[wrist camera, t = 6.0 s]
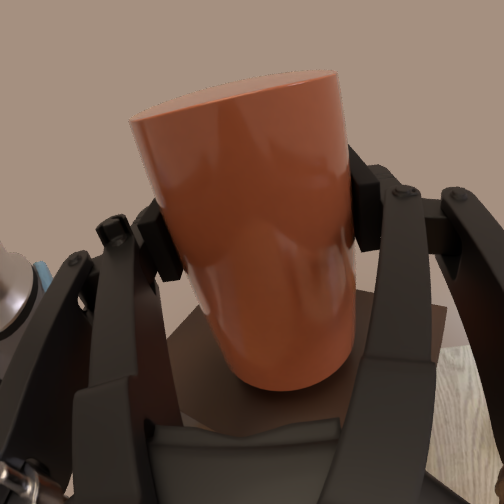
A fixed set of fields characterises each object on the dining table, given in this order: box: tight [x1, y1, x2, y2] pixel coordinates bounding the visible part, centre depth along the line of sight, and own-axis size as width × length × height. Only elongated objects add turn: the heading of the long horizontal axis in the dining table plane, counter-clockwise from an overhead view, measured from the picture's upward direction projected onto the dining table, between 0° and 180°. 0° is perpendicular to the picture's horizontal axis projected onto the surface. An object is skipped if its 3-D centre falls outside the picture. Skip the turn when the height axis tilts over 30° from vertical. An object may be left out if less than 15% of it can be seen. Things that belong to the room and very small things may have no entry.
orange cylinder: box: [129, 70, 356, 391], centre depth 13 cm, size 7×7×12 cm
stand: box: [167, 290, 447, 437], centre depth 23 cm, size 16×12×22 cm
